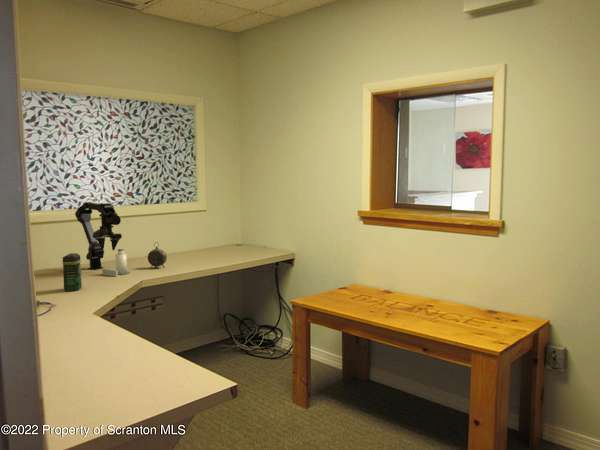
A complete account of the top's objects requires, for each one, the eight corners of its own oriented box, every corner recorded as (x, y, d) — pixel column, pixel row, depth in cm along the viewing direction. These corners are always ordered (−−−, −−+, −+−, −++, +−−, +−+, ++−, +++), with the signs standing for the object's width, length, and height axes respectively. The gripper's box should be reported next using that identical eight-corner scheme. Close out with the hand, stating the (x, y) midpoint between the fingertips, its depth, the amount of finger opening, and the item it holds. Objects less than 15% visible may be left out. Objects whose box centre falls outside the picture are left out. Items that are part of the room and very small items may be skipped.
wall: (102, 274, 300) (102, 269, 300) (104, 274, 301) (103, 268, 301) (116, 276, 295) (115, 270, 295) (117, 276, 296) (117, 270, 296)
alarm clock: (167, 267, 323) (166, 241, 321) (164, 268, 317) (163, 242, 315) (150, 267, 324) (149, 241, 322) (147, 268, 318) (145, 242, 317)
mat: (110, 274, 302) (110, 273, 302) (122, 271, 310) (122, 270, 310) (121, 275, 298) (121, 274, 298) (133, 272, 306) (133, 272, 306)
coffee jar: (79, 291, 260) (76, 255, 258) (62, 292, 259) (60, 255, 257) (83, 287, 269) (81, 252, 267) (67, 287, 268) (65, 252, 266)
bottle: (114, 273, 301) (113, 250, 300) (118, 271, 307) (117, 248, 306) (125, 273, 301) (123, 250, 300) (128, 271, 307) (127, 248, 306)
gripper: (84, 224, 306) (86, 250, 308) (107, 226, 298) (108, 252, 299) (99, 223, 316) (101, 248, 318) (121, 224, 307) (123, 250, 309)
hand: (107, 249), depth 311 cm, fingers open, 9 cm apart
